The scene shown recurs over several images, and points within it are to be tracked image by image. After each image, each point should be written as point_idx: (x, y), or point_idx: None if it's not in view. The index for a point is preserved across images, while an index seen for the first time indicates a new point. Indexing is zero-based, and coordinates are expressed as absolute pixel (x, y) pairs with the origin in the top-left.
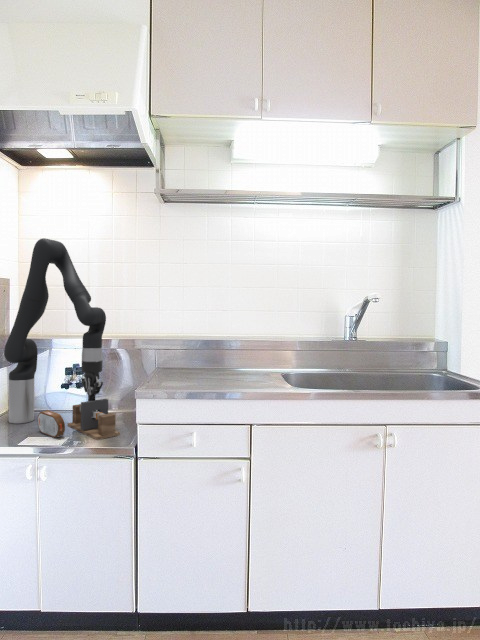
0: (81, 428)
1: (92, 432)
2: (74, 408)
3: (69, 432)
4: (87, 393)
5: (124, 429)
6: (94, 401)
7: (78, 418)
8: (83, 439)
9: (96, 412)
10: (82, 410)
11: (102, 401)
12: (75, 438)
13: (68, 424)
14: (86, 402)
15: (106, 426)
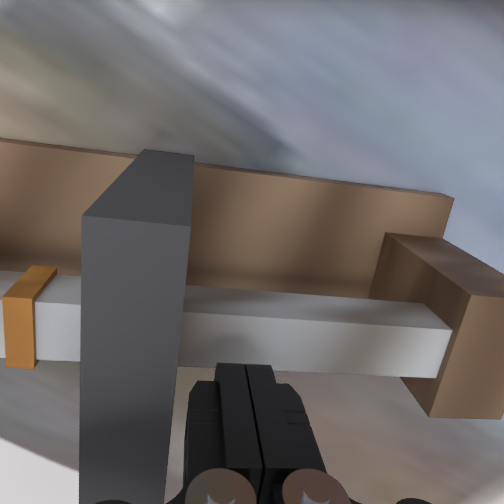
0: (175, 154)
1: (61, 185)
2: (487, 286)
3: (279, 100)
4: (315, 485)
5: (42, 408)
6: (85, 410)
7: (397, 268)
8: (3, 58)
9: (80, 325)
10: (138, 188)
11: (81, 499)
12: (81, 28)
13: (433, 195)
14: (106, 288)
15: None
